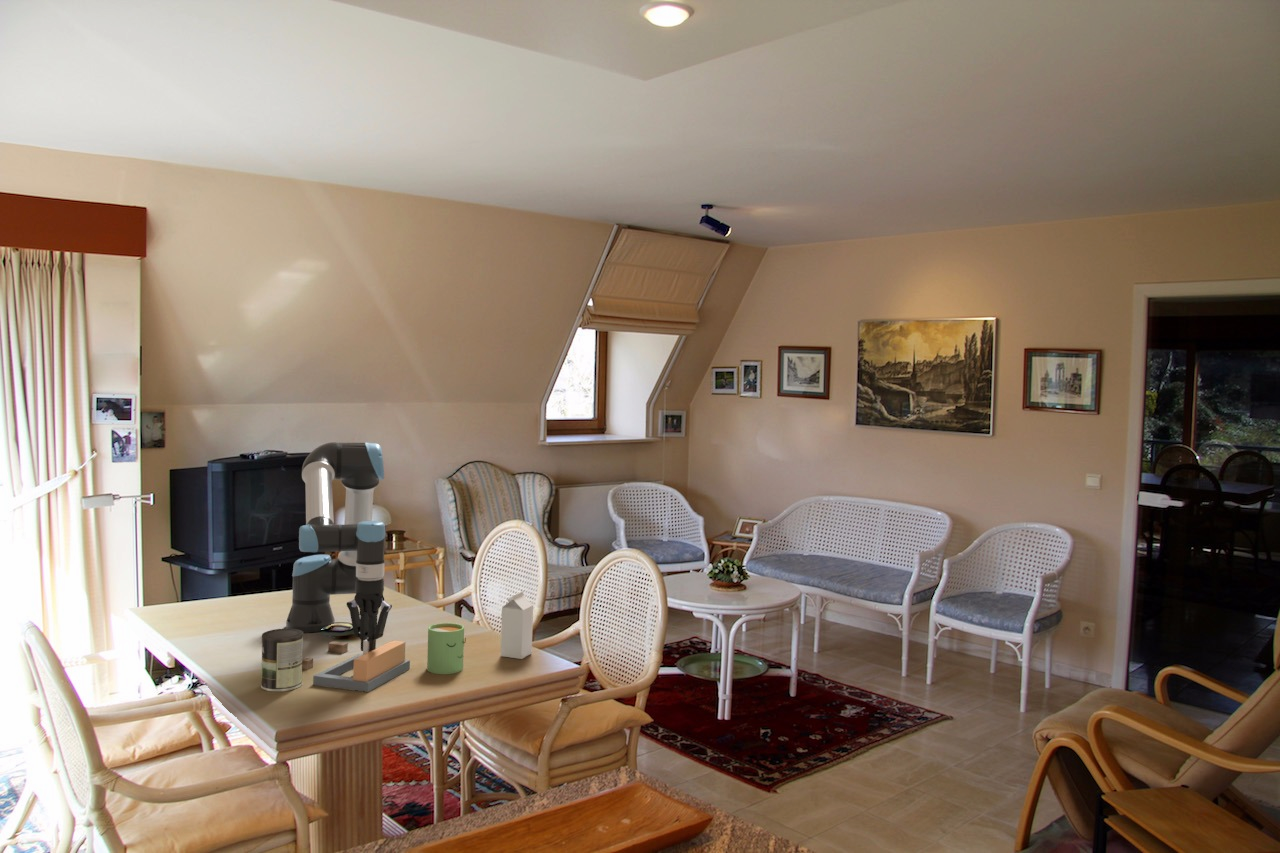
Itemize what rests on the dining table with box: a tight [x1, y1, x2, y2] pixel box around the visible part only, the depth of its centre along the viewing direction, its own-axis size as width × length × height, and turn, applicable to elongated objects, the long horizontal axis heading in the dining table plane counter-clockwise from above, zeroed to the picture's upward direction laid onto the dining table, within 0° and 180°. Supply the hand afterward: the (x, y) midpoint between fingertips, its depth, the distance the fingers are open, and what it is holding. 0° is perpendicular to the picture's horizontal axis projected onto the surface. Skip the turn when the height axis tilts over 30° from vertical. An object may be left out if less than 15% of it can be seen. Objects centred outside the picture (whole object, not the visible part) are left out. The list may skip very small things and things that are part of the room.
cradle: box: [302, 641, 349, 671], centre depth 272 cm, size 5×20×2 cm, turn 165°
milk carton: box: [500, 590, 534, 660], centre depth 283 cm, size 7×7×19 cm
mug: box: [426, 622, 467, 675], centre depth 268 cm, size 13×10×12 cm
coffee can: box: [260, 628, 304, 693], centre depth 247 cm, size 10×10×14 cm
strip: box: [352, 640, 406, 682], centre depth 255 cm, size 4×20×8 cm, turn 165°
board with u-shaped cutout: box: [312, 653, 411, 693], centre depth 257 cm, size 16×22×2 cm
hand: (367, 662), depth 257 cm, fingers closed
